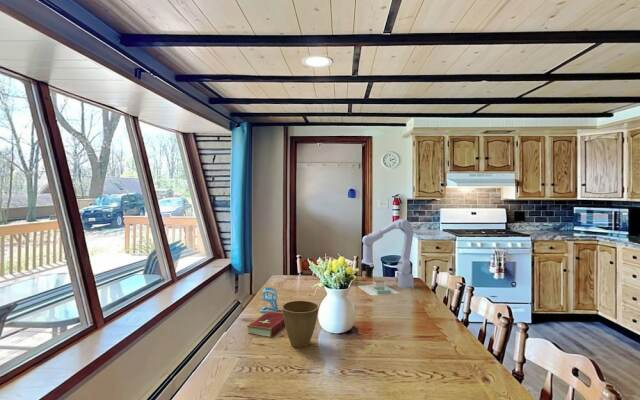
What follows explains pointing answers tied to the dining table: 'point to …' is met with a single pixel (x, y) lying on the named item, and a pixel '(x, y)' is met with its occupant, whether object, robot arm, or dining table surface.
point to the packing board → (377, 290)
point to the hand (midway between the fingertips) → (367, 275)
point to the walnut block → (364, 275)
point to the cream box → (378, 283)
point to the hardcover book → (267, 324)
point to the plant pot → (300, 321)
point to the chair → (270, 300)
